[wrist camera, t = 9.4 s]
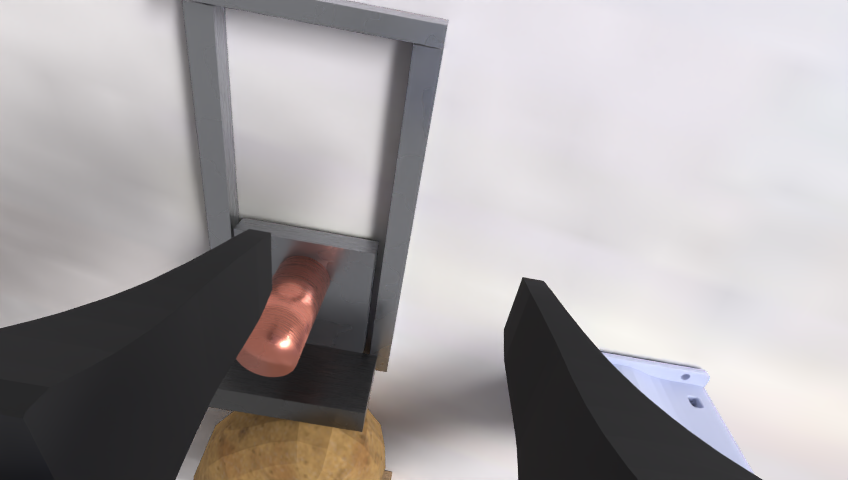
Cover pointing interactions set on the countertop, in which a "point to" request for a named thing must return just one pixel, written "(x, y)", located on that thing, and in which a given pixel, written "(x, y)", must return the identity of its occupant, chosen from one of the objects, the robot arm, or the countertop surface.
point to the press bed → (212, 105)
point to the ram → (308, 332)
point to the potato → (291, 450)
